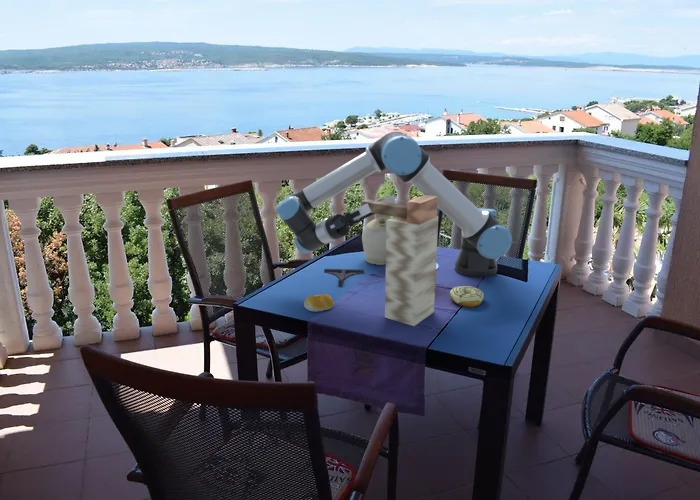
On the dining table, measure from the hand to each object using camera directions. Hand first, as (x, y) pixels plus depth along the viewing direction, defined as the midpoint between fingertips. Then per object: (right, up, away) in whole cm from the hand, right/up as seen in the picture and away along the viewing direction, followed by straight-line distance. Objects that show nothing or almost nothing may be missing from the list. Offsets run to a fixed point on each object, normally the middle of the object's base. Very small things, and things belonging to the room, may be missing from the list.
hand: (382, 203), depth 161 cm
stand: (+9, -33, +4) cm, 35 cm away
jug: (+3, -18, +52) cm, 55 cm away
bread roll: (-19, -32, +11) cm, 39 cm away
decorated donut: (+28, -30, +14) cm, 44 cm away
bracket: (-12, -25, +34) cm, 44 cm away
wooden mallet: (+4, -4, -2) cm, 5 cm away
